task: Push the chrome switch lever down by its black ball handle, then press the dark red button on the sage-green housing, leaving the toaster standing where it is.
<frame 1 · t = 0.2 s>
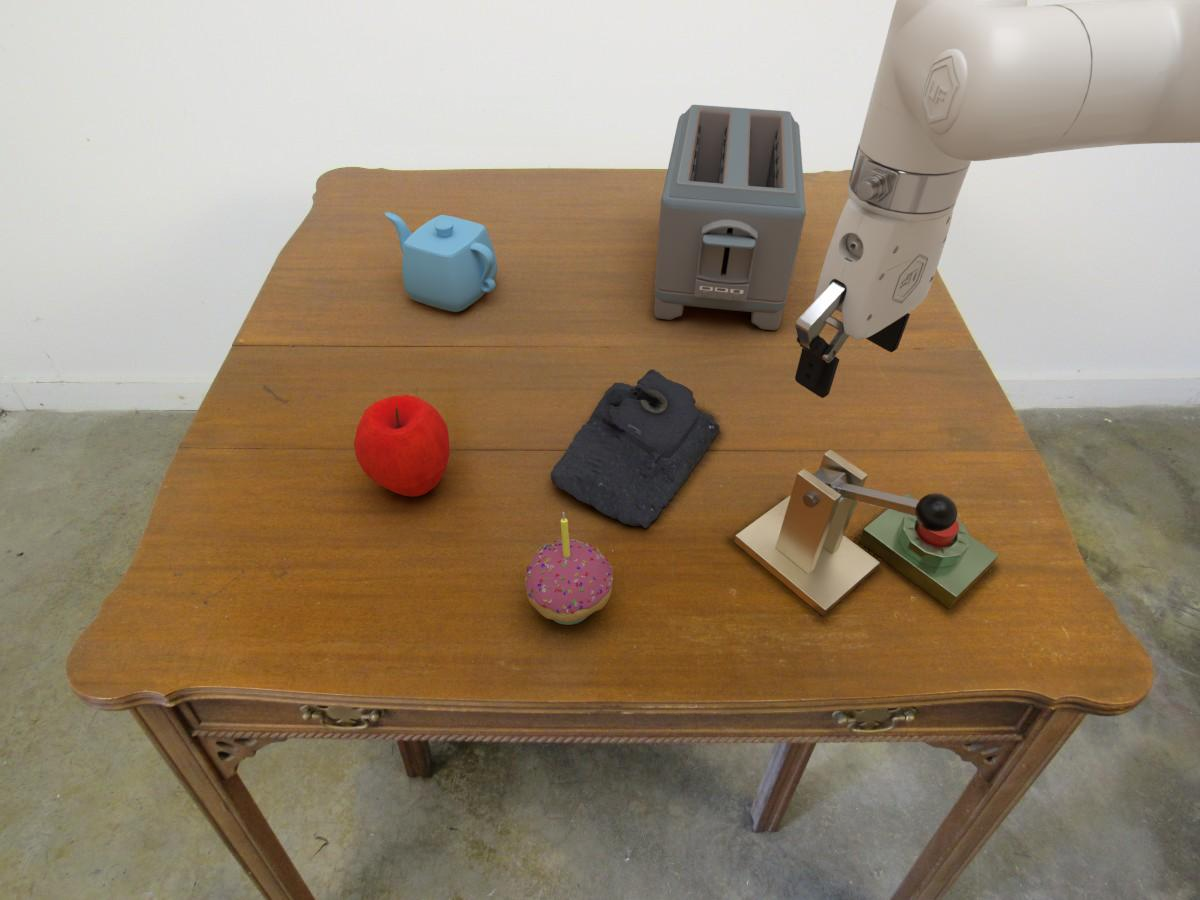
hand: (846, 365, 65), 23 cm above the table, tool pointing down, fingers open, 9 cm apart
cupcake: (570, 605, 74), on the table
button: (937, 527, 76), point 4 cm above the table, slide at 0.1 cm
toaster: (719, 279, 116), on the table
button housing: (923, 554, 79), on the table
lever: (879, 498, 66), point 14 cm above the table, hinge at 28.0°
teapot: (446, 291, 113), on the table
dark gray ringed slab: (632, 453, 89), on the table
switch bracket: (804, 555, 78), on the table
apple: (414, 486, 85), on the table
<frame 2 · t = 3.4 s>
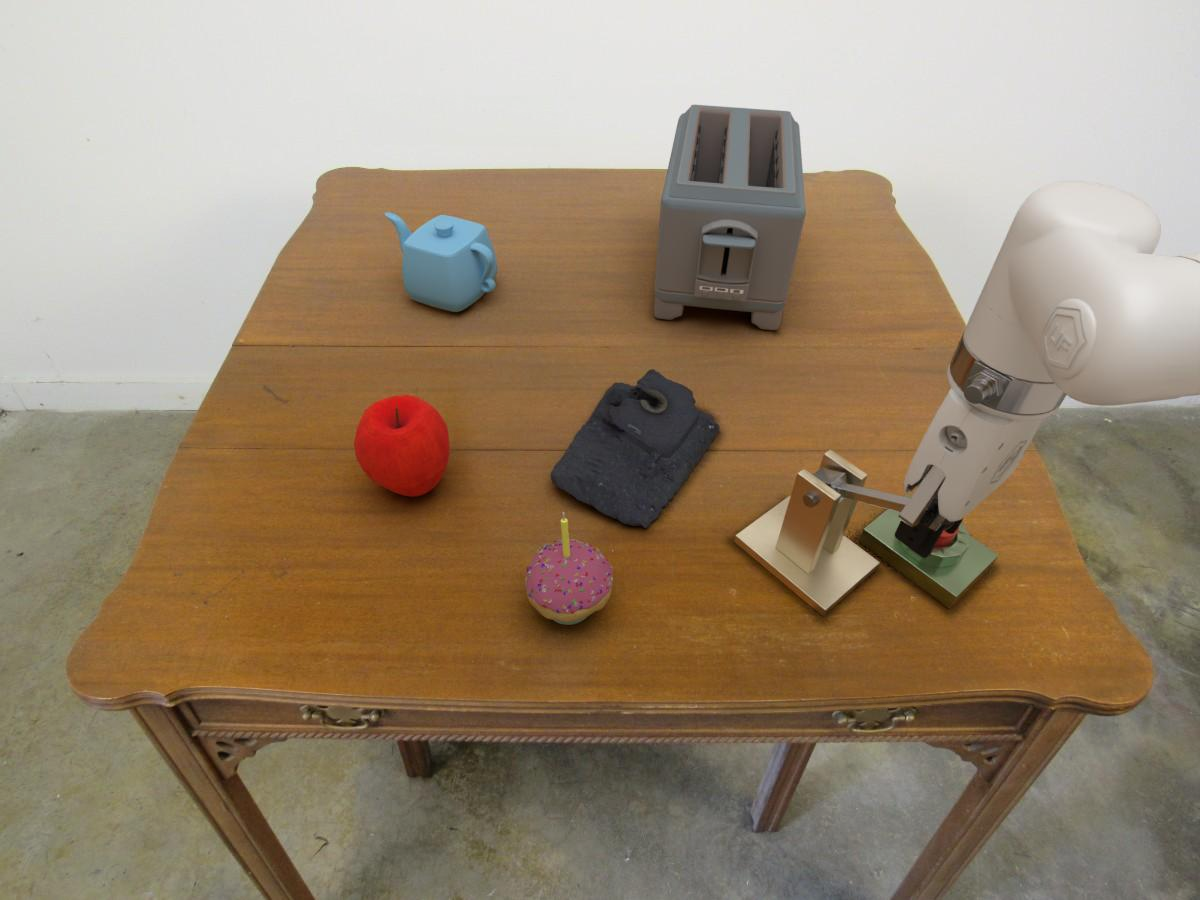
hand: (925, 533, 64), 13 cm above the table, tool pointing down, fingers closed on lever, 3 cm apart
lever: (879, 498, 66), point 14 cm above the table, hinge at 28.0°, touching gripper
everything else where it was.
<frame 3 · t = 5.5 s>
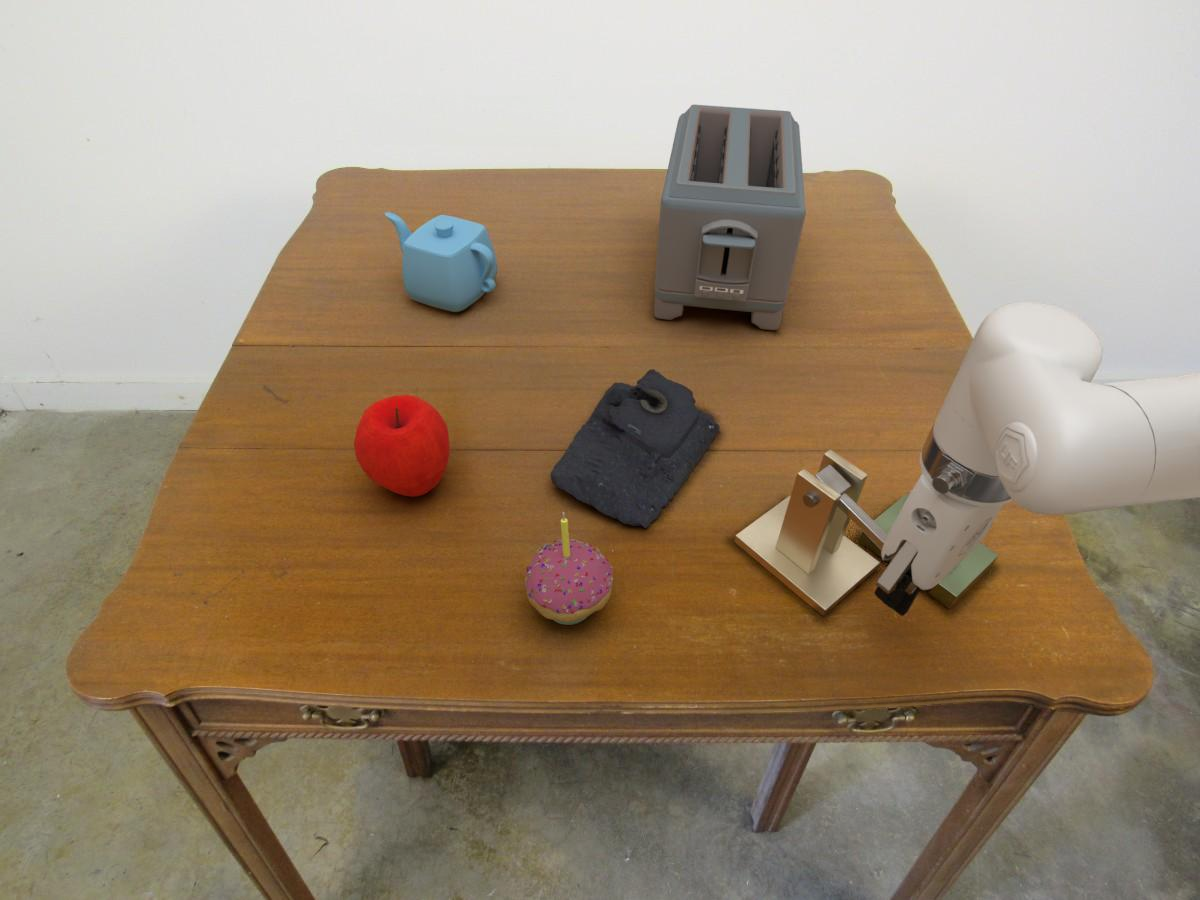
hand: (903, 591, 69), 5 cm above the table, tool pointing down, fingers closed on lever, 3 cm apart
lever: (872, 529, 69), point 10 cm above the table, hinge at -13.8°, touching gripper
everything else where it was.
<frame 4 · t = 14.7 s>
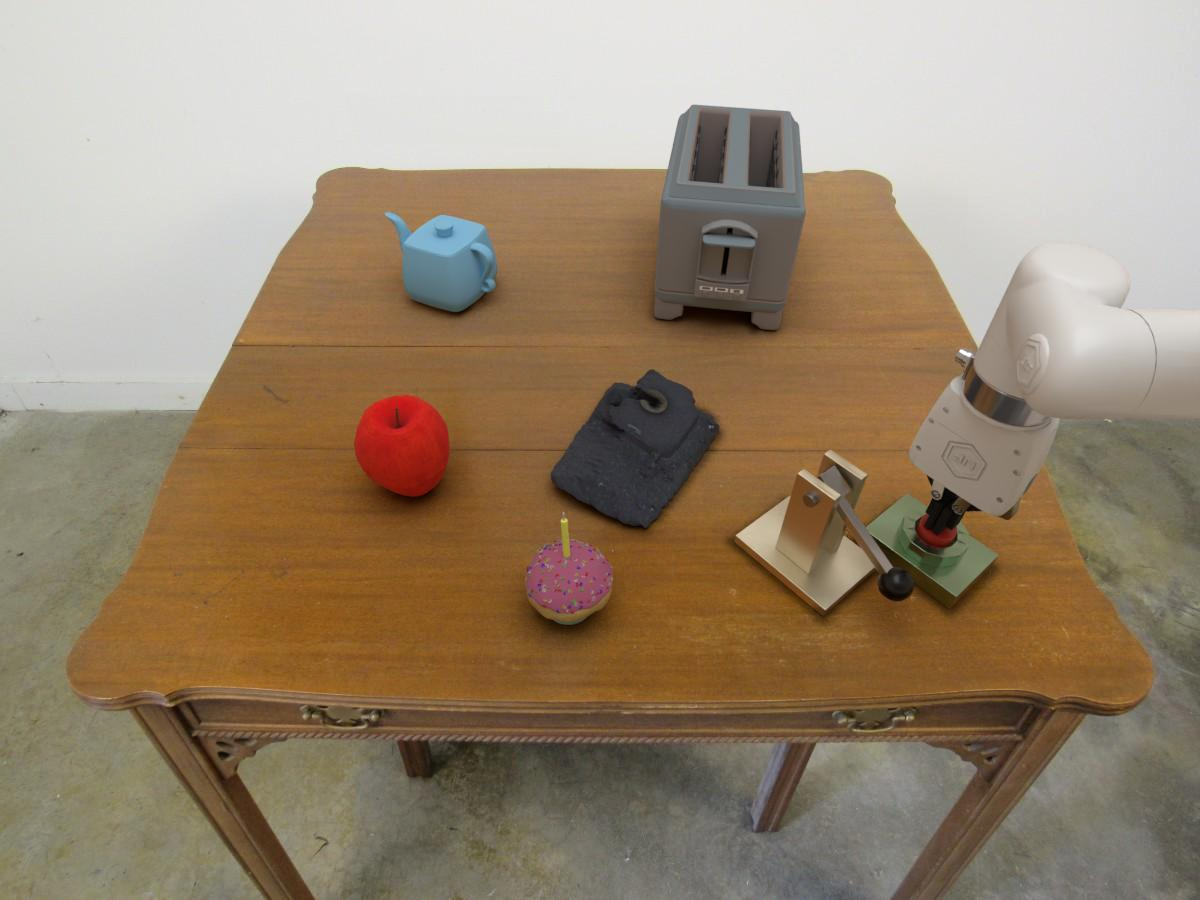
hand: (938, 524, 75), 5 cm above the table, tool pointing down, fingers closed
button: (936, 530, 76), point 4 cm above the table, slide at -0.4 cm, touching gripper
lever: (862, 535, 70), point 8 cm above the table, hinge at -30.5°
everything else where it was.
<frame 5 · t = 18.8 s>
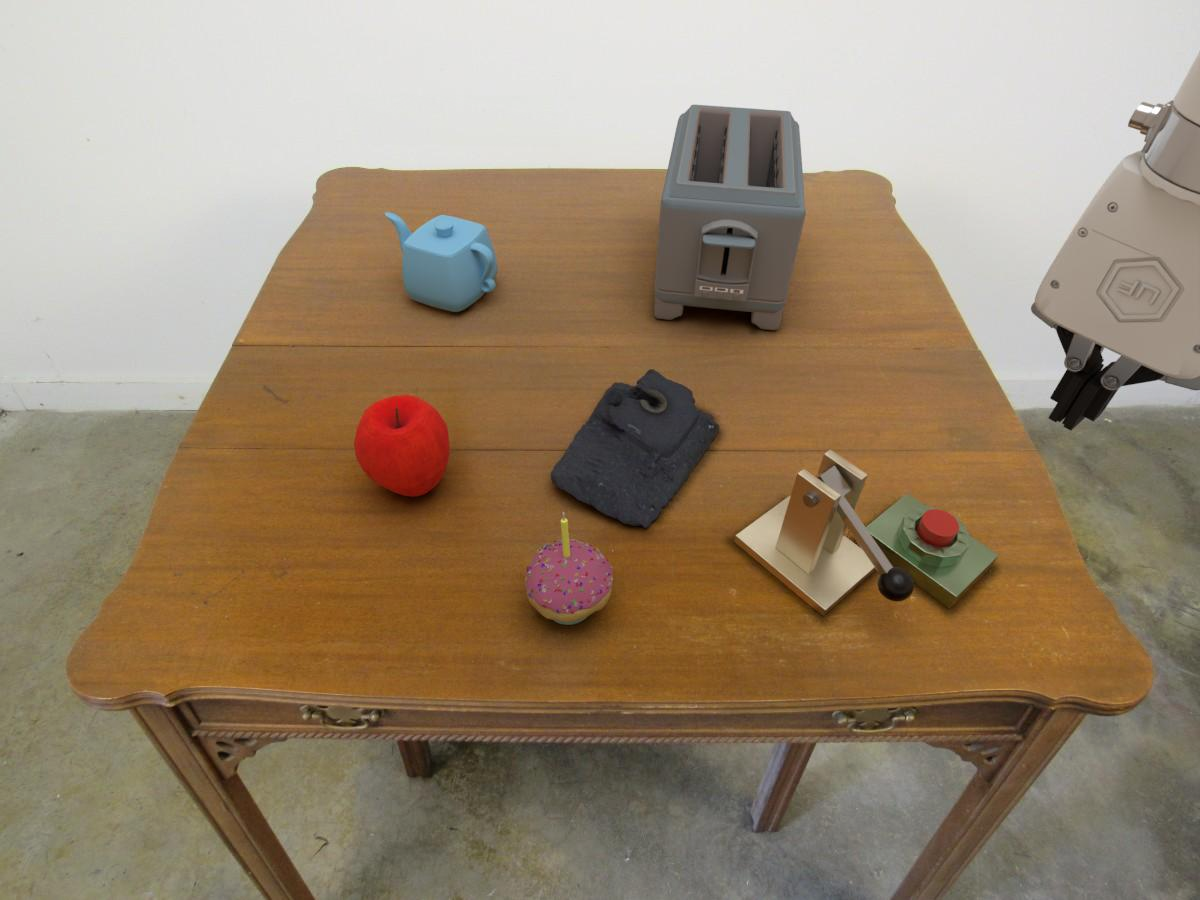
hand: (1069, 415, 51), 29 cm above the table, tool pointing down, fingers closed
button: (937, 527, 76), point 4 cm above the table, slide at 0.1 cm
everything else where it was.
at the end: lever at -30° (first picture: +28°); button pushed in 1.1 cm at the most during the clip, back to where it started at the end; toaster moved 0.2 cm from its start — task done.
